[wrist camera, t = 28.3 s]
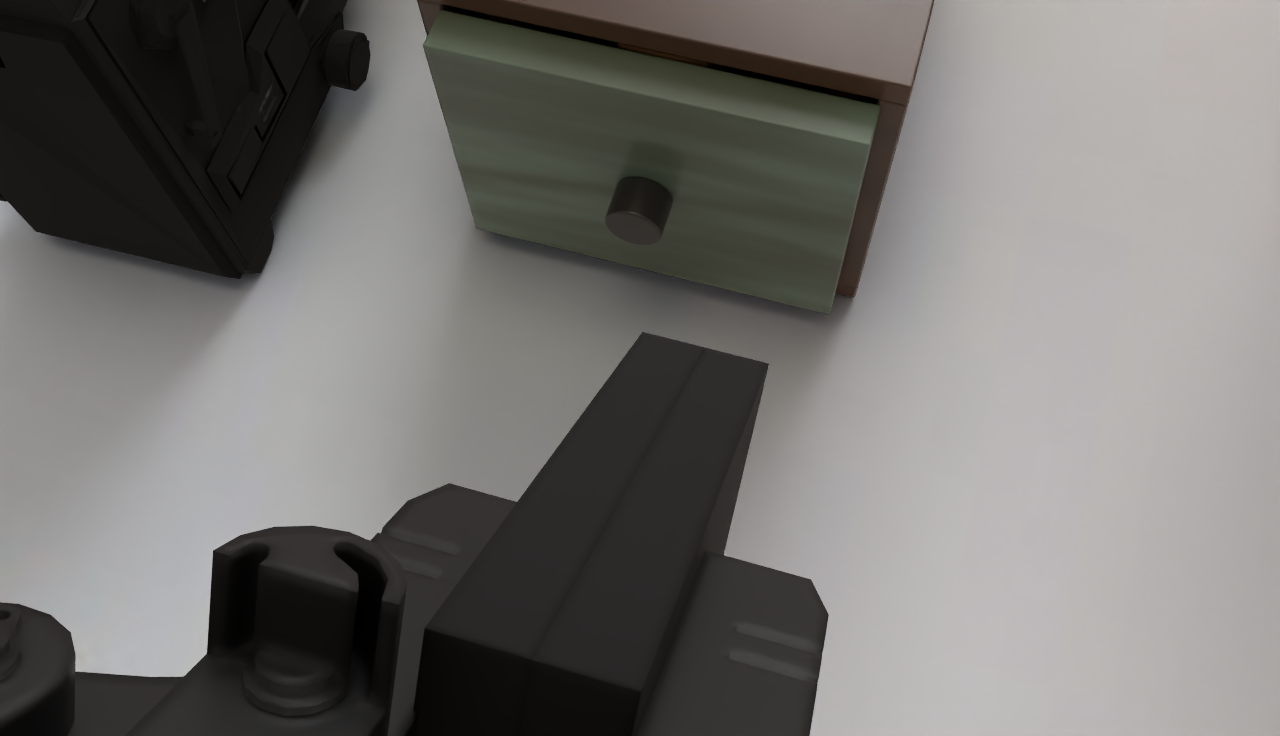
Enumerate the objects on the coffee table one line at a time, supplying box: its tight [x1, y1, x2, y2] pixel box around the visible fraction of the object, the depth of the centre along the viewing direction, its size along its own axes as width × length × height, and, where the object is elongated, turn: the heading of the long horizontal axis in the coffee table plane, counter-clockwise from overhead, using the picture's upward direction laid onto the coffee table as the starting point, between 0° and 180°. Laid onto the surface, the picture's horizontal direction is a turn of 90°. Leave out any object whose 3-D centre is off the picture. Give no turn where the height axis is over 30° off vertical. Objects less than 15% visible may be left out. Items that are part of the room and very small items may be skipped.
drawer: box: [423, 10, 880, 314], centre depth 35 cm, size 13×11×9 cm
